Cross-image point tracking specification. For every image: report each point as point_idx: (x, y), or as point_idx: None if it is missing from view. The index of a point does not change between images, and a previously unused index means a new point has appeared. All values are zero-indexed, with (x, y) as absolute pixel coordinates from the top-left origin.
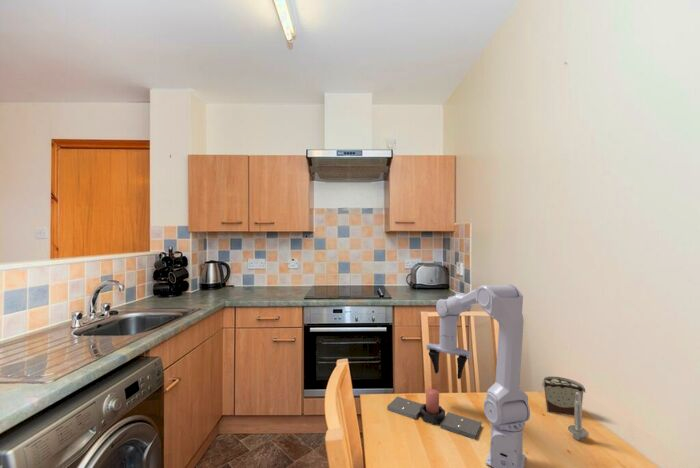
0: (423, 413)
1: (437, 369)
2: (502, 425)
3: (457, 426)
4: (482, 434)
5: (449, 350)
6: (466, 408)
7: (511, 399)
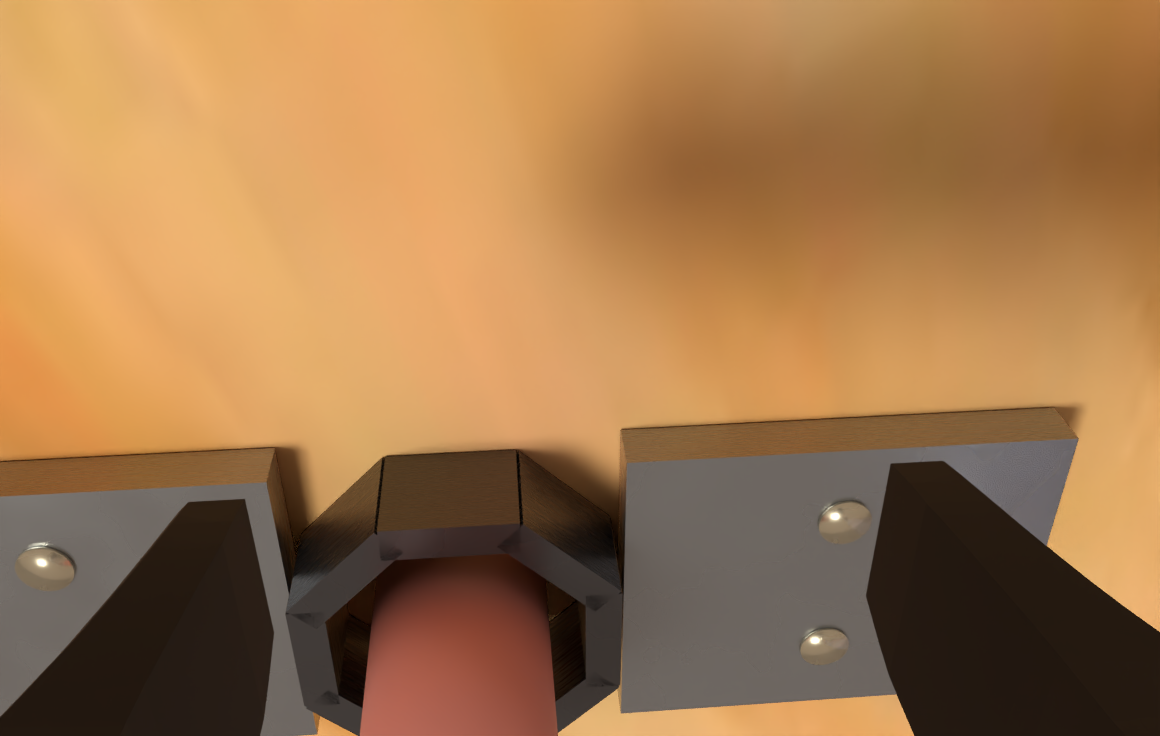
0: None
1: (243, 658)
2: None
3: (805, 662)
4: (1056, 540)
5: None
6: (832, 53)
7: None
